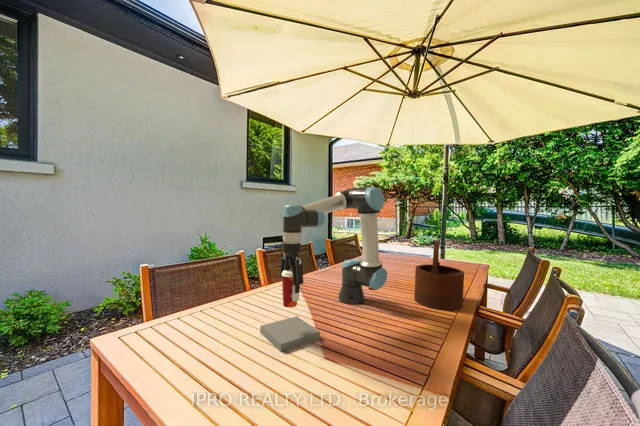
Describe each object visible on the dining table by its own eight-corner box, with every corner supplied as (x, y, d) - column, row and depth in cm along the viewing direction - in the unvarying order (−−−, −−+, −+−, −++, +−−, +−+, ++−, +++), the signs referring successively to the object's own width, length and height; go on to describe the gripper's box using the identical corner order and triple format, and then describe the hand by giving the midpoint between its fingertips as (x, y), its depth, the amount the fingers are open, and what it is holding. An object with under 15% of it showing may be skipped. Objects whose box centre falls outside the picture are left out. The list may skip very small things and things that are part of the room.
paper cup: (296, 309, 109) (297, 274, 109) (277, 307, 111) (278, 272, 110) (301, 302, 117) (302, 269, 116) (284, 300, 118) (285, 268, 118)
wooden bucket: (461, 299, 166) (464, 241, 165) (463, 314, 142) (467, 247, 141) (416, 292, 177) (418, 238, 175) (411, 305, 153) (414, 242, 152)
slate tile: (260, 332, 116) (260, 325, 116) (296, 322, 127) (296, 316, 127) (280, 352, 102) (280, 344, 101) (319, 338, 112) (320, 331, 112)
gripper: (272, 239, 119) (270, 292, 120) (297, 246, 102) (295, 307, 103) (287, 238, 123) (285, 289, 124) (313, 245, 107) (312, 303, 108)
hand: (290, 297), depth 114 cm, fingers closed on paper cup, 8 cm apart
